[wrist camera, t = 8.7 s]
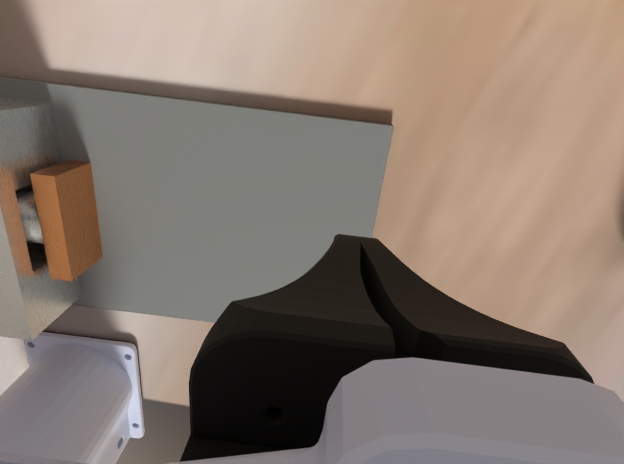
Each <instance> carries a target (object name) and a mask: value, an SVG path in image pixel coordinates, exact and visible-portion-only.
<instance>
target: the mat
mask: <svg viewBox="0 0 624 464" xmlns="http://www.w3.org/2000/svg"><path fill="white" fill-rule="evenodd" d="M0 97H2V98H10V99H18V100H26V101H34V102H42V103H50V104H53V105H54V111H55V117H56V123H57V130H58V136H59V142H60V148H61V154H62V161H63V162H65V161H68V160H75V161H83V162H91V168H92V176H93V184H94V191H95V199H96V207H97V215H98V222H99V230H100V238H101V245H102V253H103V257H102V258H100V259H99V260H98V261H97V262H95V263H94V264H93V265H92V266H91V267H89V268H88V269H87V270H86V271H84V272H83V273H82V274H81V279H82V285H83V292H84V294H83V295H82V296H81V297H80V298H79V299H78V300H77V301H75V302H74V303H73V304H72V305H78V306H86V307H94V308H102V309H110V310H118V311H126V312H134V313H142V314H150V315H158V316H166V317H174V318H182V319H190V320H198V321H206V322H214V323H216V321H217V320H218V318H219V317H220V315H221V314H222V313H223V311H224V310H225V309H226V308H227V306H228V305H229V304H230V303H231V302H232V301H236V300H241V299H246V298H250V297H255V296H259V295H262V294H266V293H268V292H271V291H274V290H277V289H279V288H282V287H284V286H286V285H288V284H289V283H291V282H293V281H295V280H297V279H298V278H300V277H301V276H302V275H304V274H305V273H306V272H308V271H309V270H310V269H311V268H312V267H313V266H314V265H315V264H316V263H317V262H318V261H319V260H320V259H321V258H322V257H323V255H324V254H325V253H326V252H327V250H328V249H329V247H330V246H331V244H332V242H333V240H334V236H336V235H337V234H344V235H352V236H360V237H368V238H372V234H373V229H374V223H375V218H376V213H377V208H378V203H379V198H380V193H381V188H382V183H383V178H384V172H385V167H386V162H387V157H388V152H389V147H390V142H391V137H392V132H393V125H391V124H382V123H374V122H366V121H358V120H350V119H342V118H334V117H326V116H318V115H310V114H302V113H293V112H285V111H277V110H269V109H261V108H253V107H245V106H237V105H229V104H221V103H213V102H204V101H196V100H188V99H180V98H172V97H164V96H156V95H148V94H140V93H132V92H123V91H115V90H107V89H99V88H91V87H83V86H75V85H67V84H59V83H51V82H43V81H34V80H26V79H18V78H10V77H2V76H0ZM25 187H26V188H33V186H32V184H31V185H28V186H25Z"/></svg>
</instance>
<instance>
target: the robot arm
mask: <svg viewBox="0 0 624 464" xmlns="http://www.w3.org/2000/svg"><path fill="white" fill-rule="evenodd" d="M24 343H25V347H26V351H27V355H28V359H29V363H30V367H29V368H28V369H27V370H26V371H25V372H24V373H23V374H22V375H21V376H20V377H19V378H18V379H17V380H16V381H15V382H14V383H13V384H12V385H11V386H10V387H9V388H8V389H7V390H6V391H5V392H4V393H3V394H2V395H1V396H0V464H115V463H116V461H117V460H118V458H119V456H120V454H121V452H122V451H123V449H124V447H125V445H126V443H127V441H128V440H129V438H130V437H133V438H141V437H142V436H143V435H144V433H145V428H144V418H143V409H142V398H141V387H140V377H139V367H138V357H137V349H136V346H135V345H134V344H132V343H127V342H119V341H111V340H103V339H95V338H87V337H79V336H71V335H63V334H55V333H47V332H41V333H40V334H39V335H38V336H37V337H35V338H34V339H33V340H26V339H24ZM128 354H129V355H130V356H129V355H128ZM189 400H190V428H191V435H190V437H189V440H188V442H187V445H186V447H185V450H184V452H183V455H182V458H181V460H180V462H174V463H165V464H624V402H623V401H622V400H621V399H620V398H619V397H618V395H617V394H616V393H615V392H614V391H612V390H609V389H606V388H604V387H601V386H598V385H596V384H594V382H593V379H592V377H591V376H590V375H589V373H588V372H587V371H586V370H585V368H584V367H583V366H582V365H581V364H580V362H579V361H578V360H577V359H576V357H575V356H574V355H573V354H572V353H571V351H570V350H569V349H568V348H567V346H566V345H565V344H564V343H562V342H559V341H556V340H553V339H550V338H546V337H543V336H540V335H537V334H534V333H531V332H528V331H525V330H522V329H519V328H516V327H513V326H511V325H508V324H506V323H503V322H501V321H498V320H496V319H493V318H491V317H489V316H486V315H484V314H482V313H480V312H478V311H475V310H474V309H472V308H470V307H468V306H466V305H464V304H462V303H460V302H458V301H456V300H454V299H453V298H451V297H449V296H447V295H446V294H444V293H443V292H441V291H439V290H438V289H436V288H435V287H433V286H432V285H430V284H429V283H427V282H426V281H425V280H423V279H422V278H421V277H419V276H418V275H417V274H416V273H414V272H413V271H412V270H411V269H409V268H408V267H407V266H406V265H405V264H404V263H402V262H401V261H400V260H399V259H398V258H397V257H396V256H395V255H394V254H393V253H392V252H391V251H390V250H389V249H388V248H386V247H385V246H384V245H383V244H382V243H381V242H380V241H379V240H378V239H376V238H368V237H360V236H352V235H344V234H337V235H336V236H334V240H333V242H332V244H331V246H330V247H329V249H328V250H327V252H326V253H325V254H324V255H323V257H322V258H321V259H320V260H319V261H318V262H317V263H316V264H315V265H314V266H313V267H312V268H311V269H310V270H309V271H308V272H306V273H305V274H304V275H302V276H301V277H300V278H298V279H297V280H295V281H293V282H291V283H289V284H288V285H286V286H284V287H282V288H279V289H277V290H274V291H271V292H268V293H266V294H262V295H259V296H255V297H250V298H246V299H241V300H236V301H232V302H231V303H230V304H229V305H228V306H227V308H226V309H225V310H224V311H223V313H222V314H221V315H220V317H219V318H218V320H217V321H216V323H215V324H214V325H213V327H212V328H211V330H210V331H209V333H208V335H207V336H206V338H205V340H204V342H203V344H202V346H201V348H200V350H199V353H198V355H197V357H196V359H195V361H194V363H193V365H192V367H191V372H190V379H189Z"/></svg>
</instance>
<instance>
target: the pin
mask: <svg viewBox="0 0 624 464" xmlns="http://www.w3.org/2000/svg"><path fill="white" fill-rule="evenodd" d="M30 176H31V181H32V186H33V188H26V187H23V188H20V189H17V190H15V193H16V197H17V202H18V206H19V211H20V216H21V220H22V225H23V229H24V234H25V238H26V242H32V243H40V244H44V247H45V252H46V257H47V262H48V267H49V272H50V277H51V279H58V280H66V281H73V280H75V279H76V278H77V277H78V276H79V275H81V274H82V273H83V272H84V271H86V270H87V269H88V268H89V267H91V266H92V265H93V264H94V263H95V262H97V261H98V260H99V259H100V258H102V257H103V253H102V245H101V238H100V230H99V222H98V215H97V207H96V199H95V191H94V184H93V176H92V168H91V162H83V161H75V160H68V161H65V162H62V163H59V164H56V165H53V166H50V167H47V168H45V169H42V170H39V171H36V172H33V173H30Z"/></svg>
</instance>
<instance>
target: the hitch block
mask: <svg viewBox="0 0 624 464" xmlns="http://www.w3.org/2000/svg"><path fill="white" fill-rule="evenodd" d="M62 162H63V161H62V154H61V148H60V142H59V136H58V130H57V123H56V117H55V111H54V105H53V104H50V103H42V102H34V101H26V100H18V99H10V98H2V97H0V336H3V337H11V338H19V339H26V340H33V339H34V338H35V337H37V336H38V335H39V334H40V333H41V332H42V331H43V330H44V329H45V328H47V327H48V326H49V325H50V324H51V323H52V322H53V321H54V320H55V319H57V318H58V317H59V316H60V315H61V314H62V313H63V312H64V311H65V310H67V309H68V308H69V307H70V306H71V305H72V304H73V303H74V302H75V301H77V300H78V299H79V298H80V297H81V296H82V295H83V294H84V292H83V285H82V279H81V275H79V276H78V277H77V278H76V279H75V280H73V281H66V280H58V279H51V277H50V272H49V267H48V262H47V257H46V252H45V247H44V244H40V243H32V242H26V238H25V234H24V229H23V225H22V220H21V216H20V211H19V206H18V202H17V197H16V193H15V190H17V189H20V188H23V187H25V186H28V185H31V184H32V181H31V176H30V173H33V172H36V171H39V170H42V169H45V168H47V167H50V166H53V165H56V164H59V163H62Z"/></svg>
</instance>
